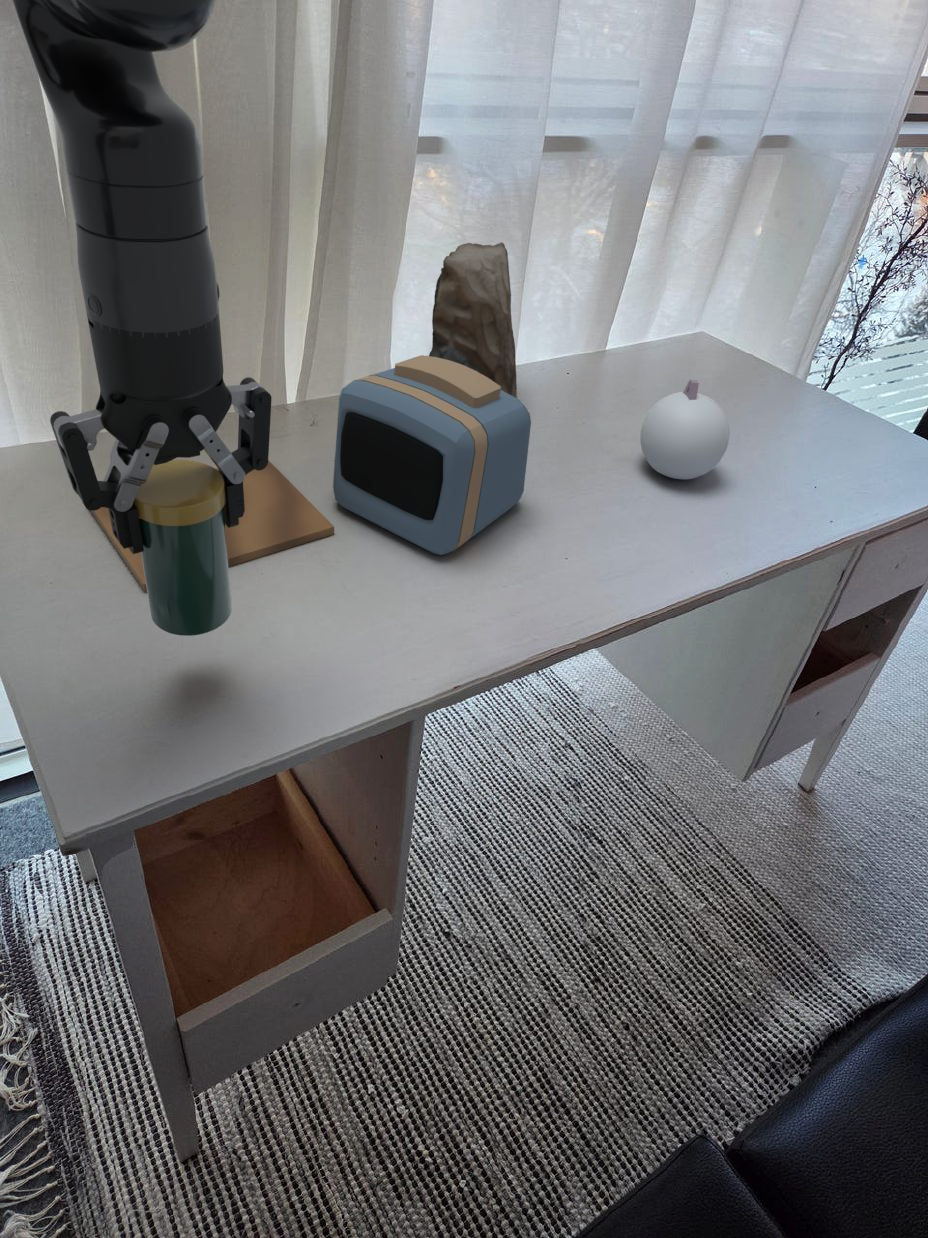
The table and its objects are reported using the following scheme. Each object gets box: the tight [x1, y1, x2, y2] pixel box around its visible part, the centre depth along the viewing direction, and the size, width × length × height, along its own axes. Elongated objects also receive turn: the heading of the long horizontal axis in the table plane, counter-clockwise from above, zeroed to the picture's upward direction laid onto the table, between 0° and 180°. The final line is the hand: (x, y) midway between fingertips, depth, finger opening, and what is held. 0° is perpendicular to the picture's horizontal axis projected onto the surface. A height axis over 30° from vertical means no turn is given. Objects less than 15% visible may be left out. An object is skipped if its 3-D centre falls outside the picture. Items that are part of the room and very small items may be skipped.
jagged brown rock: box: [428, 241, 518, 399], centre depth 107 cm, size 13×13×20 cm
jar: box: [133, 459, 233, 637], centre depth 61 cm, size 6×6×12 cm
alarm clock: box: [332, 354, 532, 556], centre depth 89 cm, size 16×16×16 cm
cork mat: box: [89, 459, 335, 593], centre depth 87 cm, size 20×16×1 cm
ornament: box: [639, 379, 731, 480], centre depth 102 cm, size 10×10×12 cm
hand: (182, 533), depth 61 cm, fingers closed on jar, 6 cm apart
